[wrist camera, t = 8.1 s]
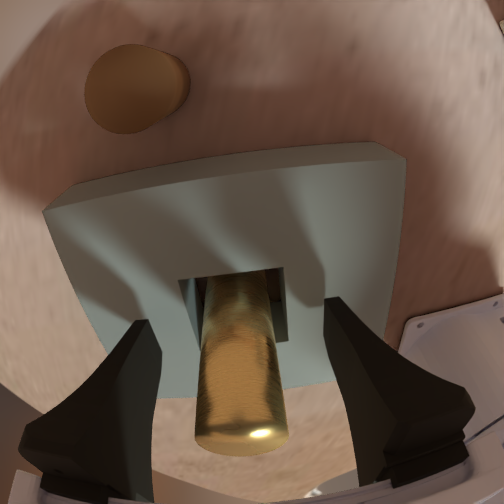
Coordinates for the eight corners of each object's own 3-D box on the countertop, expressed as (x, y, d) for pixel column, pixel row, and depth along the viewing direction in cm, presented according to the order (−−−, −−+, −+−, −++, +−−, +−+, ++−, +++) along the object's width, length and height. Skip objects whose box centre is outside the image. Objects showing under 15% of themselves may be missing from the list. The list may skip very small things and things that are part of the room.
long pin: (264, 245, 16) (291, 413, 8) (265, 292, 17) (286, 453, 9) (205, 249, 15) (185, 418, 8) (211, 295, 17) (202, 457, 9)
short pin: (185, 46, 11) (165, 34, 7) (194, 110, 12) (178, 123, 9) (120, 62, 11) (78, 59, 7) (130, 123, 12) (93, 143, 9)
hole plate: (375, 141, 13) (406, 159, 10) (360, 336, 19) (375, 372, 17) (72, 185, 13) (42, 211, 11) (143, 361, 19) (135, 398, 17)
